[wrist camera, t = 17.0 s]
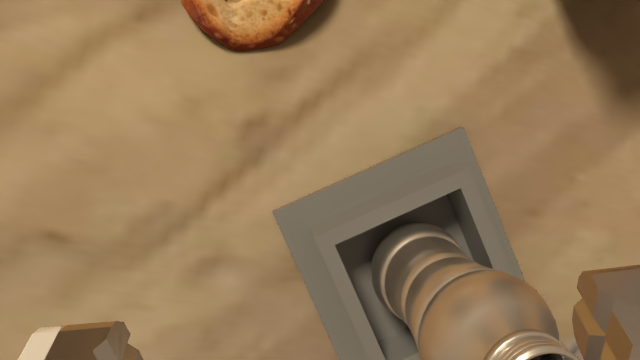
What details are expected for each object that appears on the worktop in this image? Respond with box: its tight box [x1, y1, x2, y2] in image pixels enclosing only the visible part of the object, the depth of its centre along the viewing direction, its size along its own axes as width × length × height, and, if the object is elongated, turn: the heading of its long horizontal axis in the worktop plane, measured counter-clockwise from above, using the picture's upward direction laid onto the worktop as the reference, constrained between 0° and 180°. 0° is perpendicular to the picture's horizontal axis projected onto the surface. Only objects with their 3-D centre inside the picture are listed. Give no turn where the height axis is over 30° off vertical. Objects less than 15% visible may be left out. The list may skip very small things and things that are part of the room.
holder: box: [273, 127, 525, 360], centre depth 38 cm, size 15×15×5 cm
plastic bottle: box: [371, 223, 580, 360], centre depth 30 cm, size 6×7×20 cm
